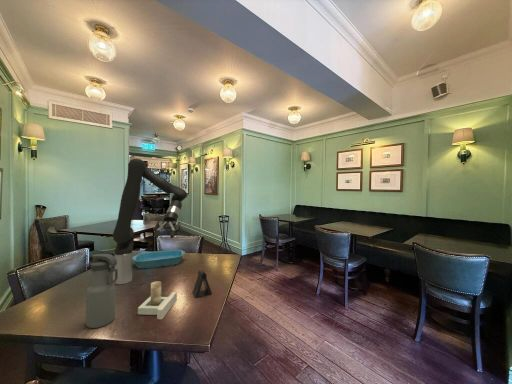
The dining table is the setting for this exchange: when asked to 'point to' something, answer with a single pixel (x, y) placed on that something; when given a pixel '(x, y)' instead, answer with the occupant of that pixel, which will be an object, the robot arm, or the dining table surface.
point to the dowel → (155, 293)
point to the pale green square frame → (150, 307)
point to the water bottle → (101, 291)
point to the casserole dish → (158, 258)
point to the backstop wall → (166, 305)
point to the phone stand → (197, 287)
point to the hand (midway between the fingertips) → (163, 237)
